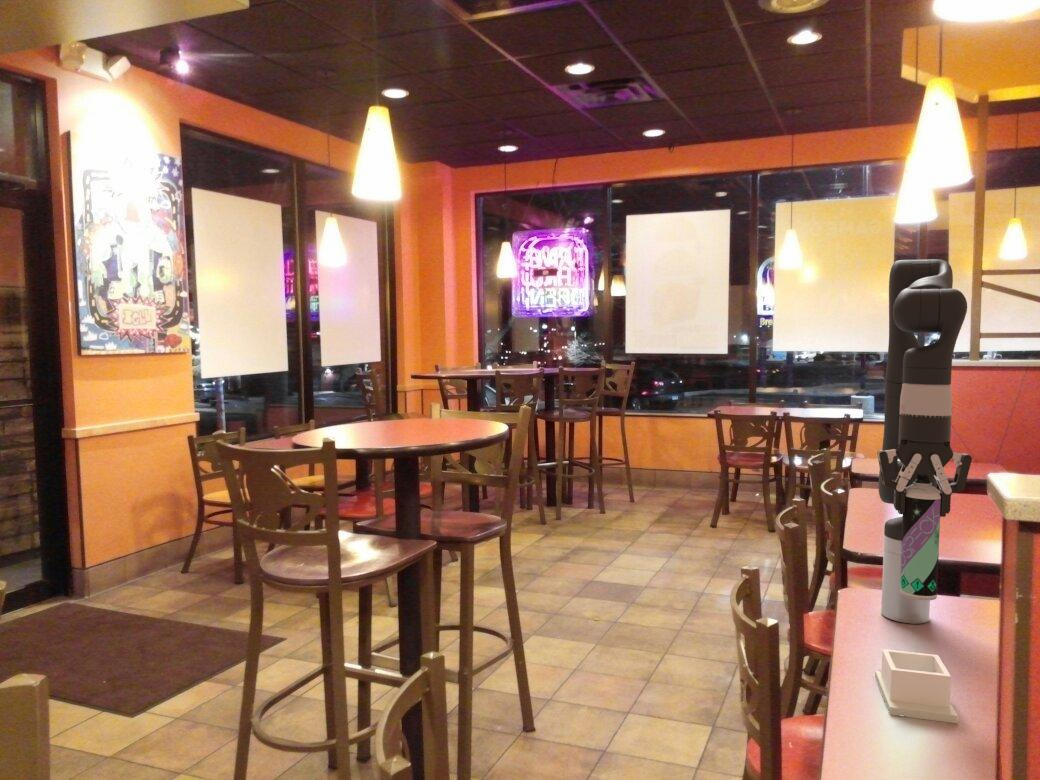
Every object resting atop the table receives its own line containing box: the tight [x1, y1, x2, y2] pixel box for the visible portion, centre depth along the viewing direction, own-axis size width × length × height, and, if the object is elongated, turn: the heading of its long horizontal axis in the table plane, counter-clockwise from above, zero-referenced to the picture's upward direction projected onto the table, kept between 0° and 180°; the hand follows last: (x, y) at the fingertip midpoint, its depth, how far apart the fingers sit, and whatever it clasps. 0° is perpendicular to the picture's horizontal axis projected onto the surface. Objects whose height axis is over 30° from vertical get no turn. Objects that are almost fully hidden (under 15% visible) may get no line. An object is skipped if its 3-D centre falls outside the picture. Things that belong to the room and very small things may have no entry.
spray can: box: [900, 474, 941, 601], centre depth 128 cm, size 6×6×20 cm
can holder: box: [874, 648, 958, 724], centre depth 128 cm, size 14×10×6 cm
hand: (921, 514), depth 128 cm, fingers closed on spray can, 5 cm apart
